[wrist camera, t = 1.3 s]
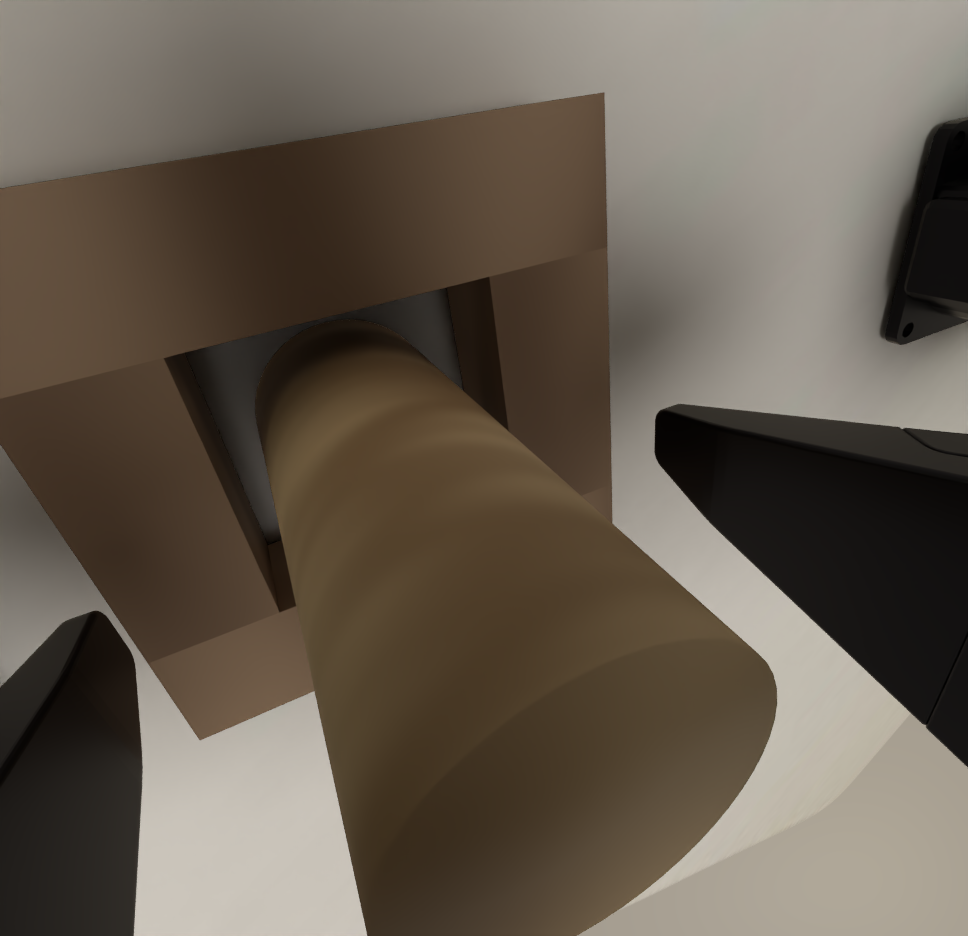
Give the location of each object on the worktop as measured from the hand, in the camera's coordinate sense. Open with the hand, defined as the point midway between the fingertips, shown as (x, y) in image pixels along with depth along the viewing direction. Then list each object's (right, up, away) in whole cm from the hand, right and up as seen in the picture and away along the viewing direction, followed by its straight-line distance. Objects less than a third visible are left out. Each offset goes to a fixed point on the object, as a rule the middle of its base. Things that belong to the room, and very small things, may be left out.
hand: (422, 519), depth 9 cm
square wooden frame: (-2, +2, +4) cm, 5 cm away
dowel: (-2, +2, +4) cm, 5 cm away
